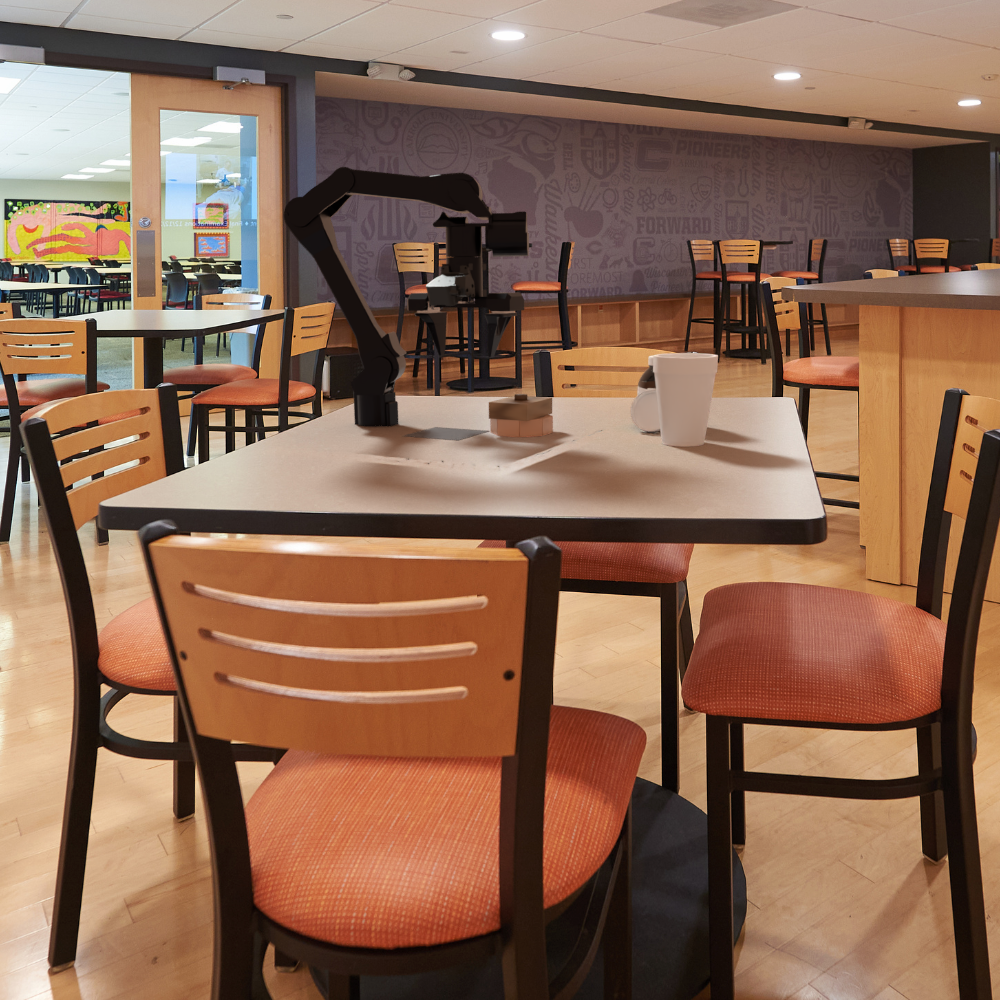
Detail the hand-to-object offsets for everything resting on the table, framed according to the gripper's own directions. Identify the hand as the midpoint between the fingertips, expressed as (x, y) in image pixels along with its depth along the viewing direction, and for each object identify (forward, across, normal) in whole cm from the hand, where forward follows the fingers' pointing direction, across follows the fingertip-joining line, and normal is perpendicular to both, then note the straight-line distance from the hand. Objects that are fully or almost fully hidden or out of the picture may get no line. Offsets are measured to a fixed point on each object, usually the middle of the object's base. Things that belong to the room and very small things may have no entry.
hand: (465, 356), depth 159 cm
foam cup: (+12, +36, +2) cm, 38 cm away
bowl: (+12, +12, -4) cm, 17 cm away
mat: (+12, +2, -10) cm, 16 cm away
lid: (+8, +12, -4) cm, 15 cm away
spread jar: (+12, +29, +14) cm, 35 cm away
